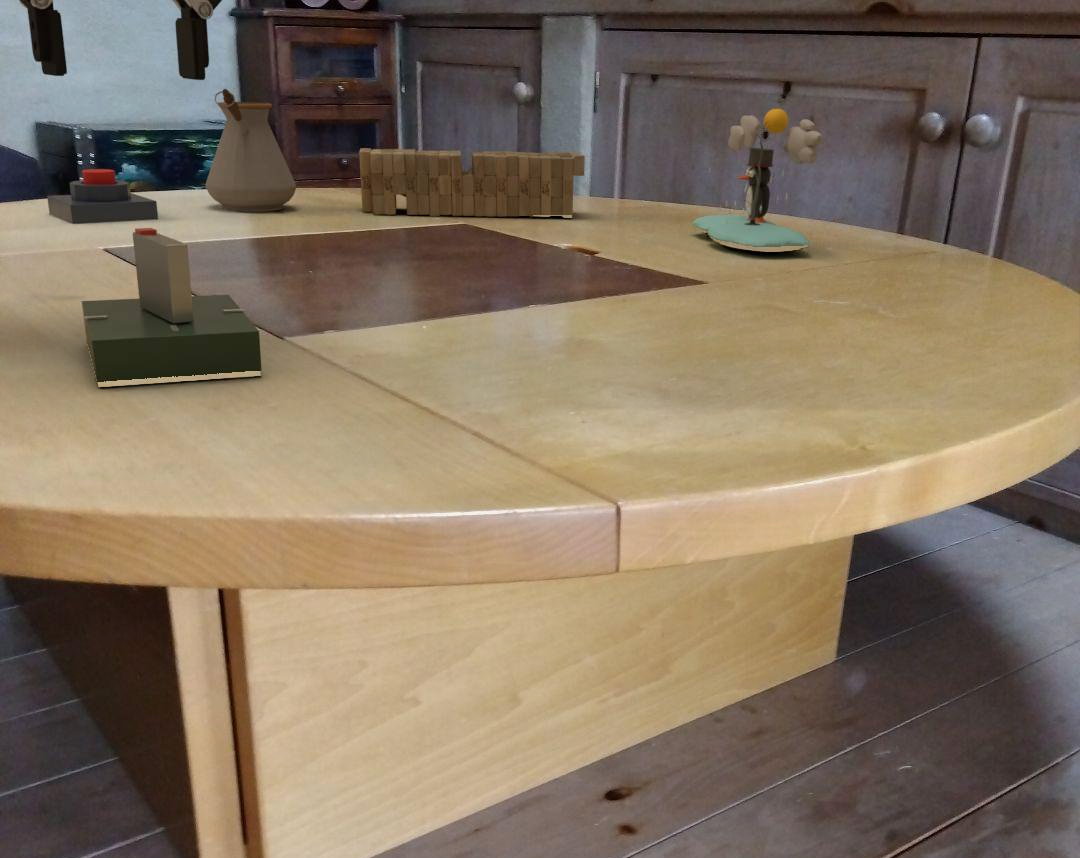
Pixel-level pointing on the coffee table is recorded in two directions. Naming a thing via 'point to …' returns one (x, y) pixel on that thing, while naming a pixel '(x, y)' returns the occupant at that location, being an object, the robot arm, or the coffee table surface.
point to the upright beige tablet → (163, 276)
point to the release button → (99, 176)
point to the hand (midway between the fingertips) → (126, 77)
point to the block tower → (469, 182)
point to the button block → (101, 204)
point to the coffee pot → (248, 161)
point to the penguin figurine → (762, 183)
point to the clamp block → (169, 340)
